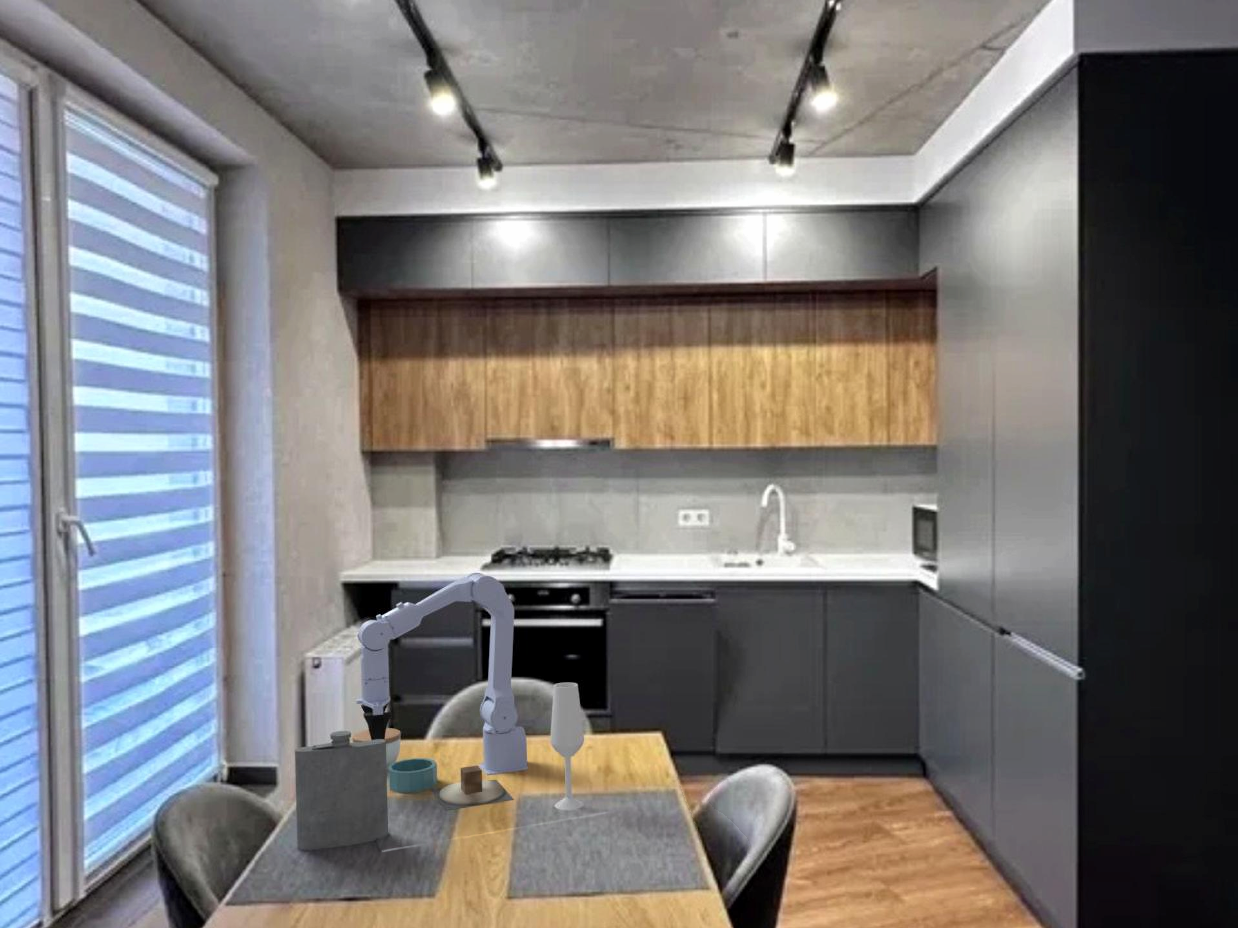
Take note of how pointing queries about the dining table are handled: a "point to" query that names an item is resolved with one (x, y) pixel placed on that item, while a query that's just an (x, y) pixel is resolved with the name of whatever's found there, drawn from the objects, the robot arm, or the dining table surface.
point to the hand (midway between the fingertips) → (376, 741)
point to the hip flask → (341, 792)
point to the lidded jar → (391, 743)
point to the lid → (471, 789)
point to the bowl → (412, 775)
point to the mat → (447, 806)
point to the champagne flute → (567, 734)
